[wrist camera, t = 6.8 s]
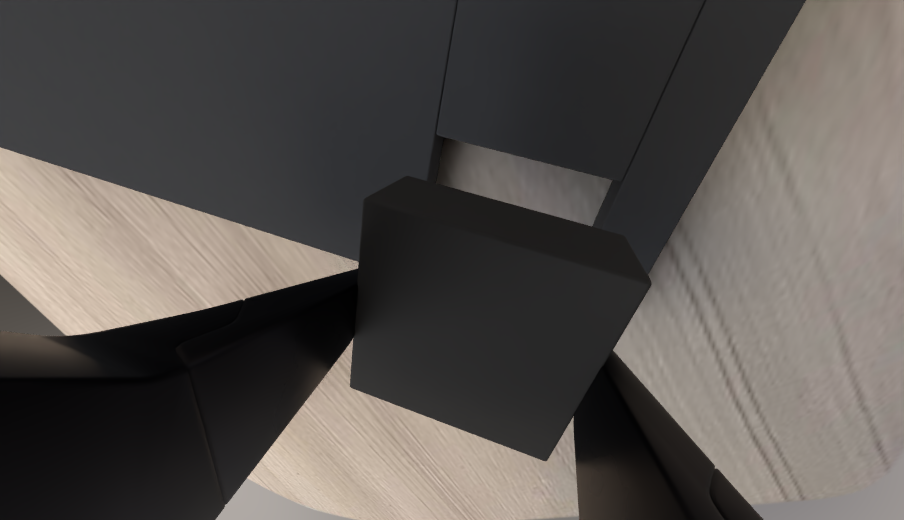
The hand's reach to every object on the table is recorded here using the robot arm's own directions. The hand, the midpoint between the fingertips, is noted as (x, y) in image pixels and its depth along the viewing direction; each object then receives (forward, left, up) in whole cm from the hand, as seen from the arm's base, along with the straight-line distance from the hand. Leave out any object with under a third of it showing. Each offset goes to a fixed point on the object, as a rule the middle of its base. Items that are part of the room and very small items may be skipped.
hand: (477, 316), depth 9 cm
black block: (0, 0, -1) cm, 1 cm away
